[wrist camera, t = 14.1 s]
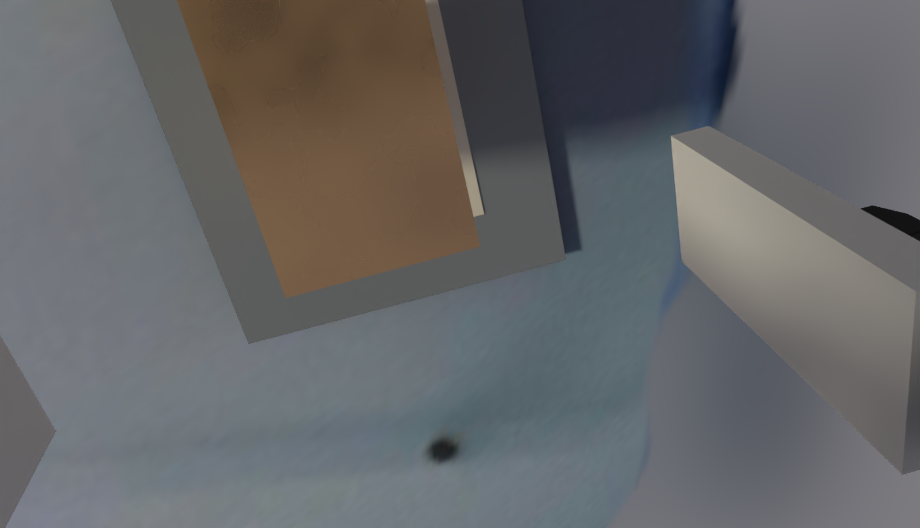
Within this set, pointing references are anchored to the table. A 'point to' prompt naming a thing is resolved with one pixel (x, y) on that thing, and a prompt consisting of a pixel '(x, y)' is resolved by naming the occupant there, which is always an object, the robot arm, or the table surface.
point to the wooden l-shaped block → (336, 132)
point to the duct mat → (479, 143)
